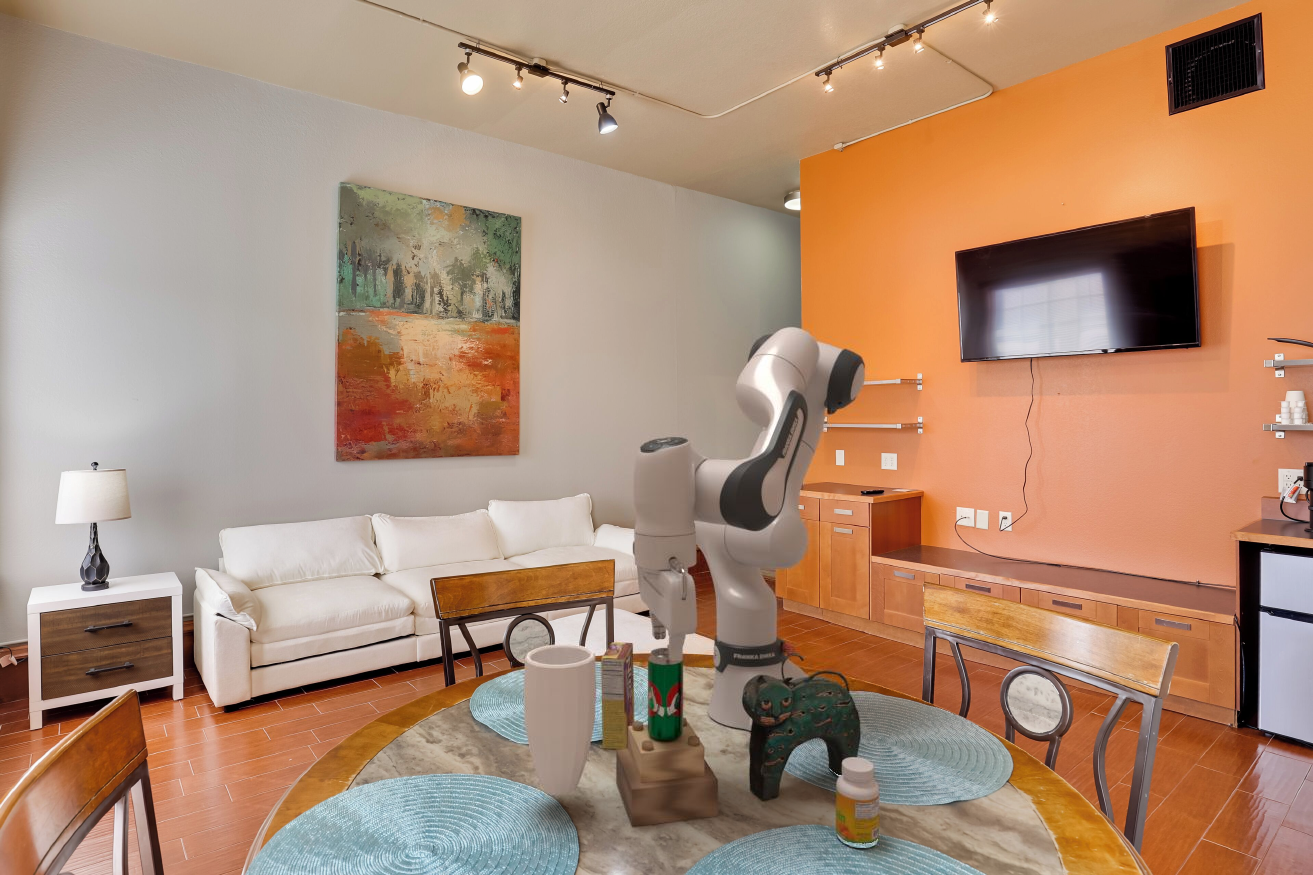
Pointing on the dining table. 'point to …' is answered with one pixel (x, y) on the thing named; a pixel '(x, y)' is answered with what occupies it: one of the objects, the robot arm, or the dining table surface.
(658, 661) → the soda can
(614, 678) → the candy box
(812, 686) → the ceramic cat
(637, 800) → the tower base
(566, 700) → the cup
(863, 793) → the supplement bottle
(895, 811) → the dining table surface
